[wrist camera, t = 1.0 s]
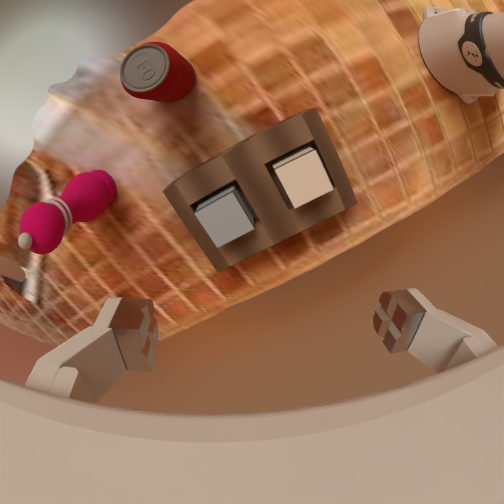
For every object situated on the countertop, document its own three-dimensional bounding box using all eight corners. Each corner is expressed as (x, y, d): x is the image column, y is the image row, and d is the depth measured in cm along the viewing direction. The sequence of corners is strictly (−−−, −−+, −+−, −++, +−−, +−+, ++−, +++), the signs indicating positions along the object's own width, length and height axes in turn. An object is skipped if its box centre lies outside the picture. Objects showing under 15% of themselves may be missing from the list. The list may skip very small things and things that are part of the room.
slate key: (234, 182, 37) (232, 191, 32) (253, 215, 39) (254, 229, 35) (199, 201, 38) (193, 213, 33) (220, 232, 40) (217, 248, 36)
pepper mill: (82, 164, 36) (-4, 208, 19) (120, 168, 37) (39, 216, 20) (81, 206, 40) (7, 267, 22) (117, 212, 41) (49, 280, 23)
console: (307, 109, 34) (315, 108, 30) (345, 193, 40) (357, 203, 36) (171, 182, 39) (162, 191, 34) (220, 255, 45) (218, 272, 40)
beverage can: (181, 49, 30) (156, 26, 19) (205, 85, 32) (188, 72, 22) (142, 76, 31) (103, 65, 20) (164, 111, 34) (132, 111, 23)
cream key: (306, 145, 35) (315, 149, 30) (323, 180, 37) (334, 189, 32) (270, 162, 36) (274, 170, 31) (288, 197, 38) (294, 209, 34)
